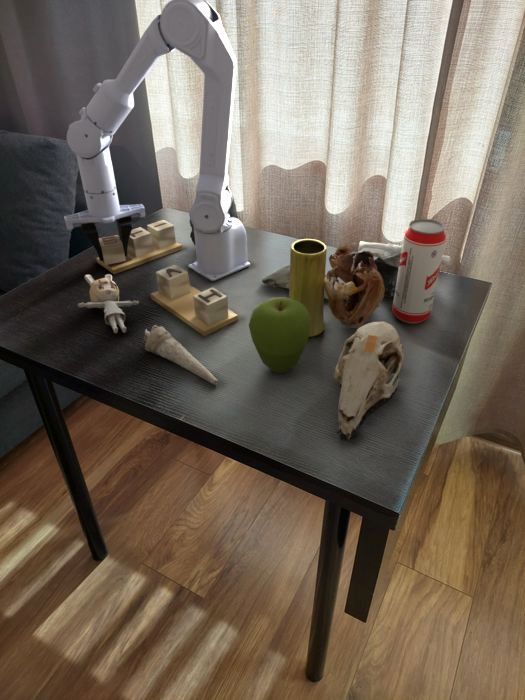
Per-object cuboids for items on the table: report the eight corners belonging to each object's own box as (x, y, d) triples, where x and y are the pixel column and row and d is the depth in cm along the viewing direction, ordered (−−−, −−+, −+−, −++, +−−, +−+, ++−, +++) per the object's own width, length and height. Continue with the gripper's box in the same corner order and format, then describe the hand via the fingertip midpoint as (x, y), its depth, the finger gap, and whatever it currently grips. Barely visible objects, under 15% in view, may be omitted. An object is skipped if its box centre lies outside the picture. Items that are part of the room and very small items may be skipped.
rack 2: (151, 298, 94) (146, 273, 91) (183, 285, 97) (180, 260, 94) (204, 336, 84) (201, 309, 81) (238, 319, 88) (236, 293, 85)
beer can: (432, 310, 89) (451, 221, 79) (425, 329, 84) (444, 237, 75) (396, 302, 91) (410, 214, 82) (387, 320, 87) (401, 230, 77)
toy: (89, 322, 80) (68, 264, 89) (85, 347, 83) (66, 288, 92) (153, 318, 85) (128, 264, 94) (148, 342, 89) (123, 287, 97)
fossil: (328, 298, 86) (262, 261, 93) (322, 321, 89) (258, 283, 96) (365, 280, 93) (301, 247, 101) (358, 302, 96) (296, 268, 103)
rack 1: (164, 238, 114) (161, 216, 110) (182, 249, 109) (180, 226, 106) (97, 262, 105) (91, 238, 102) (114, 274, 101) (109, 250, 98)
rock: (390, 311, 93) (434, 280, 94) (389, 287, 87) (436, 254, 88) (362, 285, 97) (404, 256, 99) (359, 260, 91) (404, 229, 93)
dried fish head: (396, 329, 77) (372, 266, 74) (341, 348, 80) (315, 287, 77) (393, 285, 96) (373, 233, 92) (348, 301, 99) (327, 251, 95)
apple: (297, 345, 82) (299, 280, 75) (318, 378, 75) (322, 310, 68) (243, 356, 79) (240, 291, 73) (261, 391, 73) (259, 323, 66)
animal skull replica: (309, 433, 66) (313, 372, 60) (352, 358, 78) (358, 301, 72) (372, 454, 63) (382, 392, 57) (406, 373, 75) (418, 315, 69)
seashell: (153, 318, 82) (225, 333, 73) (158, 359, 85) (229, 378, 76) (132, 326, 79) (204, 343, 70) (138, 368, 82) (209, 389, 73)
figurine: (358, 249, 99) (456, 263, 96) (361, 229, 99) (460, 243, 96) (356, 262, 106) (448, 275, 102) (360, 243, 106) (451, 256, 103)
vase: (304, 312, 89) (306, 234, 80) (332, 326, 85) (338, 246, 77) (279, 327, 85) (279, 246, 77) (307, 342, 82) (310, 260, 73)
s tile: (101, 257, 104) (97, 237, 102) (121, 253, 106) (117, 234, 103) (105, 265, 101) (101, 246, 99) (125, 261, 103) (122, 241, 100)
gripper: (61, 202, 90) (78, 272, 98) (144, 189, 94) (154, 257, 103) (56, 189, 95) (73, 256, 103) (135, 177, 100) (146, 243, 108)
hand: (113, 256), depth 103 cm, fingers closed on s tile, 4 cm apart
